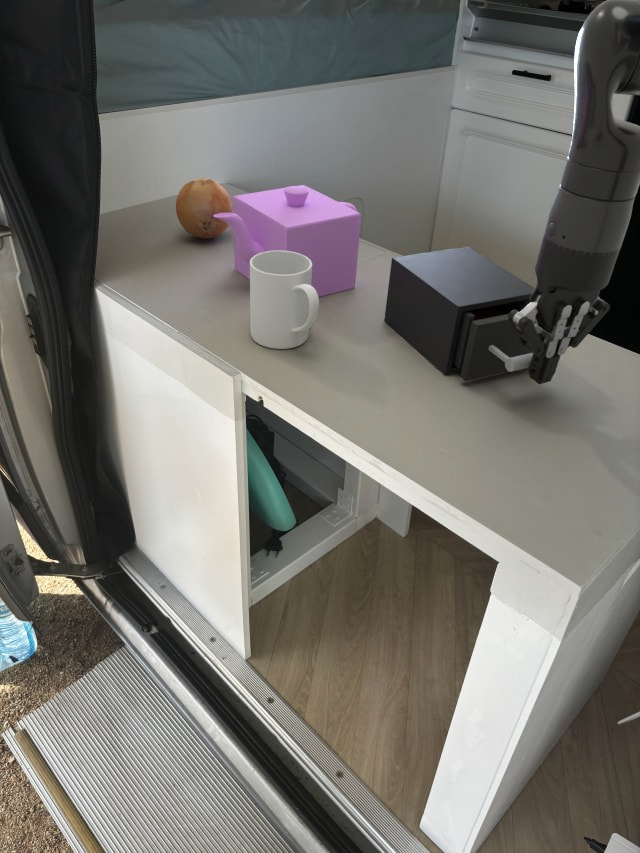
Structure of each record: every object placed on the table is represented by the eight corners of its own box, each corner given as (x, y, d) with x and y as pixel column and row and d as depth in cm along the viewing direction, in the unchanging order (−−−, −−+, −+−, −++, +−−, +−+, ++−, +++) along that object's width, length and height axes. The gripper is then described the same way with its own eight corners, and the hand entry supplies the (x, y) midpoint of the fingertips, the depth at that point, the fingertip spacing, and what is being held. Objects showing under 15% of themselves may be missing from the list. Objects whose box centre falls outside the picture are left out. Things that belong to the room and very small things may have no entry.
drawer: (564, 384, 81) (582, 328, 76) (490, 403, 77) (504, 345, 72) (471, 315, 95) (482, 264, 90) (404, 328, 91) (411, 275, 86)
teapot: (194, 277, 102) (188, 186, 94) (324, 249, 114) (329, 166, 106) (242, 317, 93) (240, 219, 84) (379, 281, 105) (389, 192, 96)
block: (483, 336, 88) (490, 304, 85) (505, 352, 84) (513, 320, 82) (455, 341, 86) (461, 310, 83) (476, 358, 83) (483, 326, 80)
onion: (223, 224, 122) (221, 168, 116) (240, 243, 115) (239, 185, 109) (172, 229, 118) (167, 172, 112) (186, 249, 111) (182, 189, 105)
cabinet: (523, 357, 88) (541, 291, 82) (445, 375, 83) (458, 306, 77) (456, 307, 99) (468, 246, 93) (383, 321, 94) (391, 257, 88)
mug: (240, 329, 90) (238, 256, 83) (289, 317, 93) (291, 246, 87) (286, 371, 82) (288, 294, 76) (337, 355, 85) (343, 280, 79)
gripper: (558, 257, 61) (515, 408, 71) (659, 241, 66) (604, 385, 76) (507, 229, 66) (474, 374, 77) (604, 216, 71) (560, 354, 82)
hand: (539, 379), depth 76 cm, fingers closed
